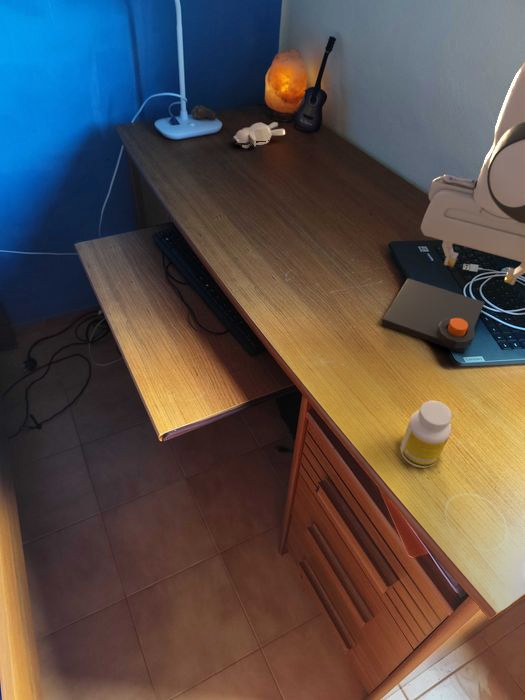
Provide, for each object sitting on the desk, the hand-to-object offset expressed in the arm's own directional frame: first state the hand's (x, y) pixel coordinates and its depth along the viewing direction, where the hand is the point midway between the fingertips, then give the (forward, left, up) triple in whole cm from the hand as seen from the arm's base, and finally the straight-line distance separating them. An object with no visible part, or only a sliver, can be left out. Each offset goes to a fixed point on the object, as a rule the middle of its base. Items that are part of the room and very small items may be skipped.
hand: (478, 272), depth 72 cm
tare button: (0, 0, -13) cm, 13 cm away
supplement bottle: (-2, +25, -15) cm, 29 cm away
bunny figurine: (+75, -57, -15) cm, 95 cm away
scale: (+5, -5, -15) cm, 17 cm away
